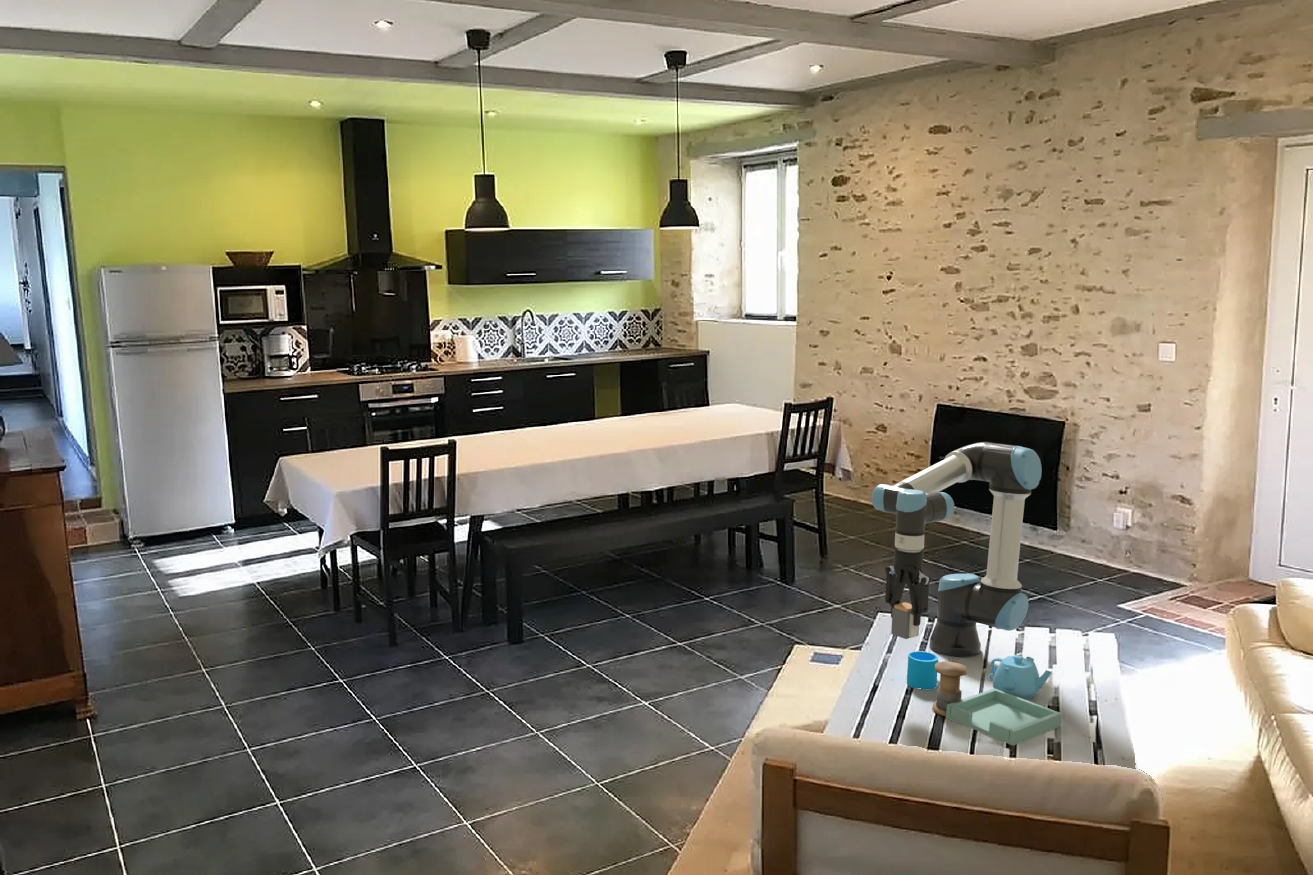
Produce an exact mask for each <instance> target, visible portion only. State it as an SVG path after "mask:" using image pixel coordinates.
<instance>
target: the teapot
mask: <svg viewBox="0 0 1313 875" xmlns="http://www.w3.org/2000/svg"><path fill="white" fill-rule="evenodd" d="M1034 661H1035V659H1034V657H1031V656H1026V658H1024V656H1022V655H1019V654H1015V655H1011V656H1006V657H1004V658H1000V657H994V658H993V659H991V661H990V669H991V672H992V673H990V674H988V679H989V681H991V682H992V687H993V688H995V689H998V690H1001V691H1003V692H1006V693H1009V694H1011V695H1014V696H1017V697H1019V698H1022V699H1025V700H1028V699H1032V698H1034V697H1035V696H1036V695H1037V693H1038V692H1039V691H1040V690H1041V689H1043V686H1044V685H1045V683H1046V682H1047V681H1048V679H1049V677H1050V676H1051V675H1052V671H1049V670H1047V669H1046V670H1045V671H1044V672H1043V673H1042V674H1041V675H1040V673H1039V671H1038V668H1037V666H1036V665H1037V664H1036V662H1034ZM995 662H999V664H998V666H997V668H995ZM992 676H993V677H992ZM1033 696H1034V697H1033Z"/></svg>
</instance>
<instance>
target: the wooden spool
mask: <svg viewBox="0 0 1313 875" xmlns="http://www.w3.org/2000/svg"><path fill="white" fill-rule="evenodd" d="M935 671H936V672H937V674H940V675H939V686H937V687H936V688H937V689H936V700H935V701H936V702H934V703H932V706H931V708H932V711H933V710H934V711H933V712H934V713H935V714H937V715H939V716H943V717H946V711H947V705H948V704H950V703H957V702H960V701H961V700H962V695H963V693H962V690H961V689H960V688H961V686H960V685H961V684H960V683H961V677H963V676H965V675H966V674H967V671H968V668H967V666H965V665H964V664H962V663H958V662H953V661H938V663H936V664H935Z"/></svg>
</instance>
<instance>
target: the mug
mask: <svg viewBox="0 0 1313 875" xmlns="http://www.w3.org/2000/svg"><path fill="white" fill-rule="evenodd" d="M938 662H939V656H938V655H936V654H934V653H931V652H928V651H918V650H917V651H912V652H908V655H907V672H906V673H907V675H906V685H907V686H908V687H910V688H913V689H915V688H921V689H931V690H934V689H936V688H937V687H938V686H937V684H938V672H936V671H935V664H936V663H938ZM935 687H936V688H935ZM921 689H920V690H921Z"/></svg>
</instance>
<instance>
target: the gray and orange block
mask: <svg viewBox="0 0 1313 875" xmlns="http://www.w3.org/2000/svg"><path fill="white" fill-rule="evenodd" d="M900 603H901V602H900ZM911 612H912V605H911V603H909V602H907V601H905V602H902V603H901V604H897V605H894V608H893V609H892V618H891V632H890V633H891V634H890V635H893V636H896V637H899V638H900V639H901V638H902V639H904V640H909V639H911V638H910V637H909V622H910V613H911ZM919 627H920V625H918V634H919V629H920V628H919Z"/></svg>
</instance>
